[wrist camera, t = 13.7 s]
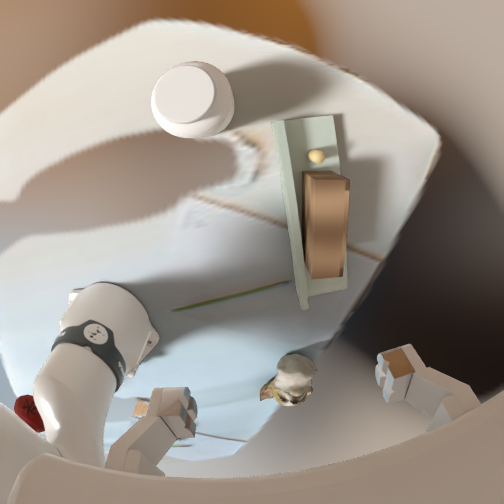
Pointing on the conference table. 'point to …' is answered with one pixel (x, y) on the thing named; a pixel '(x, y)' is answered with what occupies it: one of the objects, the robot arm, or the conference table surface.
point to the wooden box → (324, 222)
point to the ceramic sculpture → (290, 380)
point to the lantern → (29, 412)
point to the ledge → (290, 168)
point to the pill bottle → (193, 100)
